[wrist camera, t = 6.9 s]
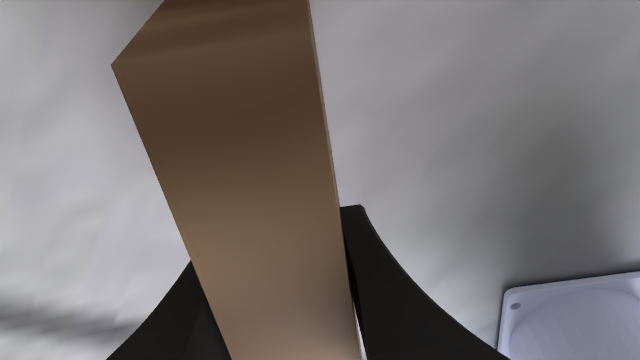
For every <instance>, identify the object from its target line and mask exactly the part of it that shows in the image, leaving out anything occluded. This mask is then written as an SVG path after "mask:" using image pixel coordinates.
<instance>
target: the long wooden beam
mask: <svg viewBox="0 0 640 360" xmlns="http://www.w3.org/2000/svg"><path fill="white" fill-rule="evenodd" d="M111 67H112V69H113V71H114V74H115V76H116V79H117V81H118V84H119V86H120V88H121V91H122V93H123V96H124V98H125V101H126V103H127V105H128V108H129V110H130V113H131V115H132V118H133V120H134V122H135V125H136V127H137V130H138V132H139V135H140V137H141V140H142V142H143V144H144V147H145V149H146V152H147V154H148V157H149V159H150V161H151V164H152V166H153V169H154V171H155V174H156V176H157V178H158V181H159V183H160V186H161V188H162V191H163V193H164V195H165V198H166V200H167V203H168V205H169V208H170V210H171V213H172V215H173V217H174V220H175V222H176V225H177V227H178V230H179V232H180V234H181V237H182V239H183V242H184V244H185V247H186V249H187V251H188V254H189V256H190V259H191V261H192V264H193V266H194V268H195V271H196V273H197V276H198V278H199V281H200V283H201V286H202V288H203V290H204V293H205V295H206V298H207V300H208V303H209V305H210V307H211V310H212V312H213V315H214V317H215V320H216V322H217V324H218V327H219V329H220V332H221V334H222V337H223V339H224V341H225V344H226V346H227V349H228V351H229V354H230V356H231V359H232V360H362V353H361V345H360V338H359V331H358V325H357V318H356V311H355V306H354V302H353V298H352V291H351V285H350V278H349V271H348V265H347V258H346V251H345V245H344V238H343V232H342V224H341V216H340V208H339V207H340V204H339V198H338V191H337V184H336V178H335V171H334V164H333V158H332V151H331V144H330V138H329V131H328V124H327V117H326V111H325V104H324V97H323V91H322V84H321V77H320V71H319V64H318V57H317V51H316V44H315V37H314V31H313V24H312V17H311V10H310V4H309V0H165V1H164V2H163V3H162V4H161V5H160V7H159V8H158V9H157V10H156V11H155V13H154V14H153V15H152V16H151V17H150V19H149V20H148V21H147V22H146V23H145V25H144V26H143V27H142V28H141V29H140V31H139V32H138V33H137V34H136V35H135V37H134V38H133V39H132V40H131V41H130V43H129V44H128V45H127V46H126V47H125V49H124V50H123V51H122V52H121V53H120V54H119V56H118V57H117V58H116V59H115V60H114V62H113V63H112V64H111Z"/></svg>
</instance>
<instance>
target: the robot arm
mask: <svg viewBox="0 0 640 360" xmlns="http://www.w3.org/2000/svg"><path fill="white" fill-rule="evenodd" d="M339 208H340V216H341V224H342V232H343V238H344V245H345V251H346V258H347V265H348V271H349V278H350V285H351V291H352V298H353V302H354V306H355V311H356V315H357V319H358V323H359V327H360V331H361V335H362V340H363V344H364V348H365V352H366V356H367V360H640V271H638V272H630V273H622V274H615V275H607V276H599V277H592V278H584V279H576V280H568V281H561V282H553V283H545V284H538V285H530V286H522V287H515V288H511V289H509V290H507V291H506V292H505V294H504V300H503V308H502V316H501V324H500V333H499V341H498V349H497V350H495V349H494V348H492V347H491V346H490V345H488V344H487V343H485V342H484V341H482V340H481V339H480V338H478V337H477V336H475V335H474V334H473V333H471V332H470V331H469V330H467V329H466V328H465V327H463V326H462V325H461V324H460V323H459V322H457V321H456V320H455V319H454V318H453V317H451V316H450V315H449V314H448V313H447V312H445V311H444V310H443V309H442V308H441V307H440V306H438V305H437V304H436V303H435V302H434V301H433V300H432V299H431V298H430V297H429V296H428V295H427V294H426V293H425V292H424V291H423V290H422V289H421V288H420V287H419V286H418V285H417V284H416V283H415V282H414V281H413V280H412V278H411V277H410V276H409V275H408V274H407V273H406V272H405V270H404V269H403V268H402V267H401V266H400V264H399V263H398V262H397V261H396V259H395V258H394V257H393V255H392V254H391V253H390V251H389V250H388V248H387V247H386V246H385V244H384V243H383V241H382V240H381V239H380V237H379V235H378V234H377V232H376V231H375V229H374V227H373V226H372V224H371V222H370V220H369V218H368V216H367V214H366V212H365V209H364V207H363V206H361V205H360V204H359V205H352V206H345V207H339ZM106 360H232V359H231V356H230V354H229V351H228V349H227V346H226V344H225V341H224V339H223V337H222V334H221V332H220V329H219V327H218V324H217V322H216V320H215V317H214V315H213V312H212V310H211V307H210V305H209V303H208V300H207V298H206V295H205V293H204V290H203V288H202V286H201V283H200V281H199V278H198V276H197V273H196V271H195V268H194V266H193V264H192V261H191V260H190V262H189V263H188V265H187V266H186V268H185V269H184V271H183V272H182V273H181V275H180V276H179V278H178V279H177V281H176V282H175V283H174V285H173V286H172V287H171V289H170V290H169V291H168V293H167V294H166V295H165V297H164V298H163V299H162V300H161V302H160V303H159V304H158V306H157V307H156V308H155V309H154V310H153V312H152V313H151V314H150V315H149V316H148V318H147V319H146V320H145V321H144V322H143V323H142V324H141V325H140V326H139V328H138V329H137V330H136V331H135V332H134V333H133V334H132V335H131V336H130V337H129V338H128V339H127V340H126V341H125V342H124V343H123V344H122V345H121V346H120V347H119V348H118V349H116V350H115V351H114V352H113V353H112V354H111V355H110V356H109V357H108V358H107V359H106Z"/></svg>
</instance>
